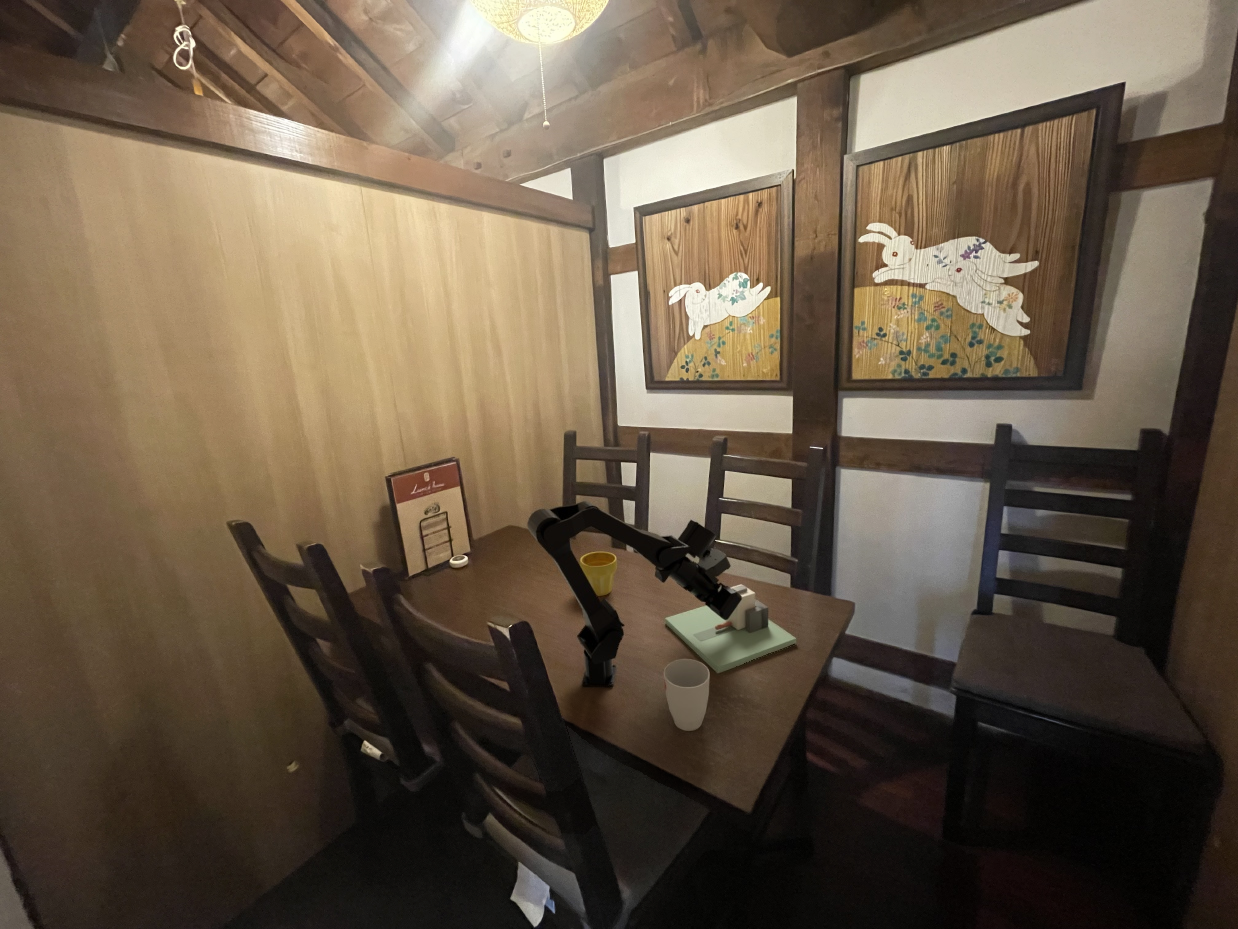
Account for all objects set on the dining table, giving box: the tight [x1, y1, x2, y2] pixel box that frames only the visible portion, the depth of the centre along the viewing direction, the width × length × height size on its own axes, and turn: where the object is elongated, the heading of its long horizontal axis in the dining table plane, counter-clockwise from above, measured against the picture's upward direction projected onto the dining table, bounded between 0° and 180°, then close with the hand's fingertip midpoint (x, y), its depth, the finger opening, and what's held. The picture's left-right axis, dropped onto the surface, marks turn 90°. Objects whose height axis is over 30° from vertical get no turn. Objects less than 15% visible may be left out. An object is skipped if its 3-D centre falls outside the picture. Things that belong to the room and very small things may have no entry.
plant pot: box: [579, 551, 618, 597], centre depth 141 cm, size 10×10×10 cm
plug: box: [715, 584, 756, 630], centre depth 116 cm, size 9×5×9 cm, turn 114°
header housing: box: [746, 598, 769, 633], centre depth 118 cm, size 5×9×5 cm, turn 24°
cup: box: [663, 658, 710, 732], centre depth 90 cm, size 8×8×10 cm
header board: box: [664, 605, 797, 674], centre depth 117 cm, size 21×22×2 cm
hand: (728, 605), depth 116 cm, fingers closed
